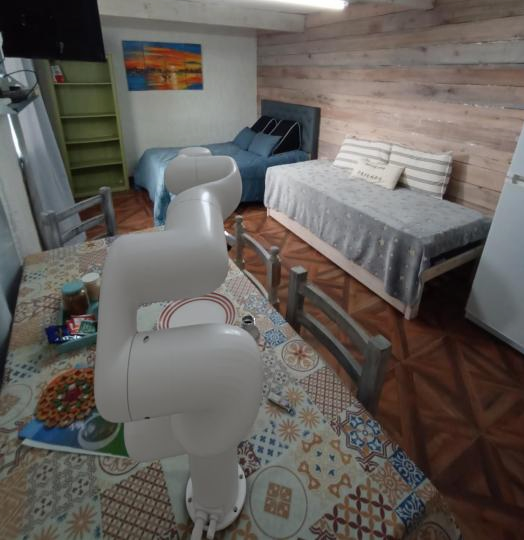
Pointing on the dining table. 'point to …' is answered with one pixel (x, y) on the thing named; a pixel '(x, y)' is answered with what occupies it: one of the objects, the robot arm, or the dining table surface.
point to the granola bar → (279, 401)
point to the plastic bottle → (250, 327)
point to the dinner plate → (198, 311)
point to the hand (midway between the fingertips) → (202, 264)
